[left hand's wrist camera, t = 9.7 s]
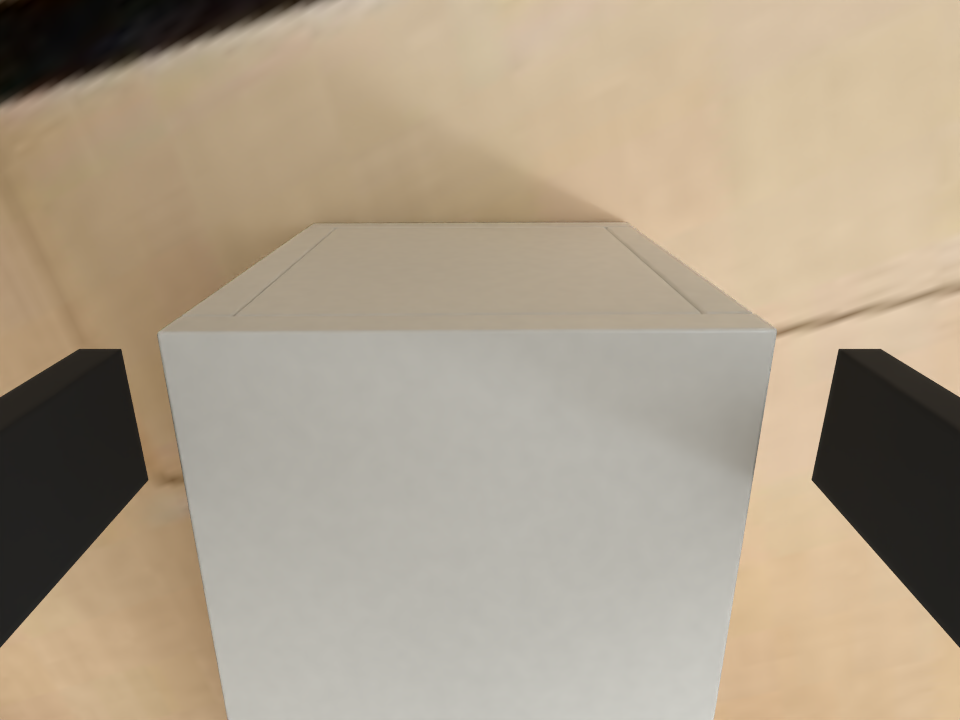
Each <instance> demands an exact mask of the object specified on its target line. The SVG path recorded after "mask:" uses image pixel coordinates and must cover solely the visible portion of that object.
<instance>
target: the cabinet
mask: <svg viewBox="0 0 960 720" xmlns="http://www.w3.org/2000/svg"><path fill="white" fill-rule="evenodd" d="M776 334H777V331H776V328H775V327H773V326H772V325H770V324H769V323H768V322H766V321H765V320H763V319H762V318H761V317H759V316H758V315H756V314H752V312H751V311H749V310H748V309H747V308H745V307H744V306H742V305H741V304H740V303H738V302H737V301H736V300H734V299H733V298H731V297H730V296H729V295H727V294H726V293H724V292H723V291H722V290H720V289H719V288H718V287H716V286H715V285H713V284H712V283H711V282H709V281H708V280H706V279H705V278H704V277H702V276H701V275H699V274H698V273H697V272H695V271H694V270H693V269H691V268H690V267H688V266H687V265H686V264H684V263H683V262H681V261H680V260H679V259H677V258H676V257H674V256H673V255H672V254H670V253H669V252H668V251H666V250H665V249H663V248H662V247H661V246H659V245H658V244H656V243H655V242H654V241H652V240H651V239H650V238H648V237H647V236H645V235H644V234H643V233H641V232H640V231H638V230H637V229H636V228H634V227H633V226H632V225H630V224H629V223H627V222H535V223H314V224H312V225H310V226H309V227H308V228H306V229H304V230H303V231H302V232H300V233H299V234H297V235H296V236H294V237H293V238H292V239H290V240H289V241H287V242H286V243H284V244H283V245H282V246H280V247H279V248H277V249H276V250H274V251H273V252H272V253H270V254H269V255H267V256H266V257H264V258H263V259H262V260H260V261H259V262H257V263H256V264H255V265H253V266H252V267H250V268H249V269H247V270H246V271H245V272H243V273H242V274H240V275H239V276H237V277H236V278H235V279H233V280H232V281H230V282H229V283H227V284H226V285H225V286H223V287H222V288H220V289H219V290H217V291H216V292H215V293H213V294H212V295H210V296H209V297H207V298H206V299H205V300H203V301H202V302H200V303H199V304H197V305H196V306H195V307H193V308H192V309H190V310H189V311H187V312H186V313H185V314H183V315H182V317H179V318H177V319H176V320H174V321H173V322H172V323H170V324H169V325H167V326H166V327H164V328H163V329H162V330H160V331H159V332H158V335H157V336H158V342H159V347H160V352H161V358H162V363H163V369H164V374H165V380H166V385H167V391H168V396H169V402H170V407H171V413H172V418H173V424H174V429H175V434H176V440H177V445H178V451H179V456H180V462H181V467H182V473H183V478H184V484H185V489H186V495H187V500H188V505H189V511H190V516H191V522H192V527H193V533H194V538H195V544H196V549H197V555H198V560H199V566H200V571H201V577H202V582H203V587H204V593H205V598H206V604H207V609H208V615H209V620H210V626H211V631H212V637H213V642H214V648H215V653H216V659H217V664H218V669H219V675H220V680H221V686H222V691H223V697H224V702H225V708H226V713H227V719H228V720H714V714H715V708H716V702H717V695H718V689H719V683H720V677H721V671H722V665H723V659H724V652H725V646H726V640H727V634H728V628H729V622H730V616H731V610H732V603H733V597H734V591H735V585H736V579H737V573H738V567H739V560H740V554H741V548H742V542H743V536H744V530H745V524H746V518H747V511H748V505H749V499H750V493H751V487H752V481H753V475H754V468H755V462H756V456H757V450H758V444H759V438H760V432H761V426H762V419H763V413H764V407H765V401H766V395H767V389H768V383H769V376H770V370H771V364H772V358H773V352H774V346H775V340H776Z"/></svg>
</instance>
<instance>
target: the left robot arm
mask: <svg viewBox="0 0 960 720" xmlns="http://www.w3.org/2000/svg"><path fill="white" fill-rule="evenodd" d="M147 481H148V476H147V471H146V466H145V461H144V457H143V452H142V447H141V442H140V437H139V432H138V428H137V423H136V418H135V413H134V408H133V404H132V399H131V394H130V389H129V384H128V380H127V375H126V370H125V365H124V360H123V355H122V351H121V349H79V350H77V351H75V352H74V353H72V354H70V355H69V356H67V357H66V358H64V359H62V360H61V361H59V362H57V363H56V364H54V365H52V366H51V367H49V368H47V369H46V370H44V371H43V372H41V373H39V374H38V375H36V376H34V377H33V378H31V379H29V380H28V381H26V382H25V383H23V384H21V385H20V386H18V387H16V388H15V389H13V390H11V391H10V392H8V393H7V394H5V395H3V396H2V397H0V647H1V646H2V645H3V644H4V643H5V642H6V641H7V639H8V638H9V637H10V636H11V635H12V634H13V633H14V631H15V630H16V629H17V628H18V627H19V626H20V625H21V624H22V622H23V621H24V620H25V619H26V618H27V617H28V616H29V615H30V613H31V612H32V611H33V610H34V609H35V608H36V607H37V605H38V604H39V603H40V602H41V601H42V600H43V599H44V598H45V596H46V595H47V594H48V593H49V592H50V591H51V590H52V588H53V587H54V586H55V585H56V584H57V583H58V582H59V581H60V579H61V578H62V577H63V576H64V575H65V574H66V573H67V571H68V570H69V569H70V568H71V567H72V566H73V565H74V564H75V562H76V561H77V560H78V559H79V558H80V557H81V556H82V554H83V553H84V552H85V551H86V550H87V549H88V548H89V547H90V545H91V544H92V543H93V542H94V541H95V540H96V539H97V537H98V536H99V535H100V534H101V533H102V532H103V531H104V530H105V528H106V527H107V526H108V525H109V524H110V523H111V522H112V521H113V519H114V518H115V517H116V516H117V515H118V514H119V513H120V511H121V510H122V509H123V508H124V507H125V506H126V505H127V504H128V502H129V501H130V500H131V499H132V498H133V497H134V496H135V494H136V493H137V492H138V491H139V490H140V489H141V488H142V487H143V485H144V484H145V483H146V482H147ZM812 481H813V482H814V483H815V484H816V485H817V487H818V488H819V489H820V490H821V491H822V492H823V493H824V494H825V496H826V497H827V498H828V499H829V500H830V501H831V502H832V504H833V505H834V506H835V507H836V508H837V509H838V510H839V511H840V513H841V514H842V515H843V516H844V517H845V518H846V519H847V521H848V522H849V523H850V524H851V525H852V526H853V527H854V528H855V530H856V531H857V532H858V533H859V534H860V535H861V536H862V537H863V539H864V540H865V541H866V542H867V543H868V544H869V545H870V547H871V548H872V549H873V550H874V551H875V552H876V553H877V554H878V556H879V557H880V558H881V559H882V560H883V561H884V562H885V564H886V565H887V566H888V567H889V568H890V569H891V570H892V571H893V573H894V574H895V575H896V576H897V577H898V578H899V579H900V581H901V582H902V583H903V584H904V585H905V586H906V587H907V588H908V590H909V591H910V592H911V593H912V594H913V595H914V596H915V598H916V599H917V600H918V601H919V602H920V603H921V604H922V605H923V607H924V608H925V609H926V610H927V611H928V612H929V613H930V615H931V616H932V617H933V618H934V619H935V620H936V621H937V622H938V624H939V625H940V626H941V627H942V628H943V629H944V630H945V631H946V633H947V634H948V635H949V636H950V637H951V638H952V639H953V641H954V642H955V643H956V644H957V645H958V646H959V647H960V397H958V396H957V395H955V394H953V393H952V392H950V391H949V390H947V389H945V388H944V387H942V386H940V385H939V384H937V383H935V382H934V381H932V380H931V379H929V378H927V377H926V376H924V375H922V374H921V373H919V372H917V371H916V370H914V369H913V368H911V367H909V366H908V365H906V364H904V363H903V362H901V361H899V360H898V359H896V358H894V357H893V356H891V355H890V354H888V353H886V352H885V351H883V350H881V349H839V351H838V355H837V360H836V365H835V370H834V375H833V380H832V384H831V389H830V394H829V399H828V404H827V408H826V413H825V418H824V423H823V428H822V432H821V437H820V442H819V447H818V452H817V457H816V461H815V466H814V471H813V476H812Z"/></svg>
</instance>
